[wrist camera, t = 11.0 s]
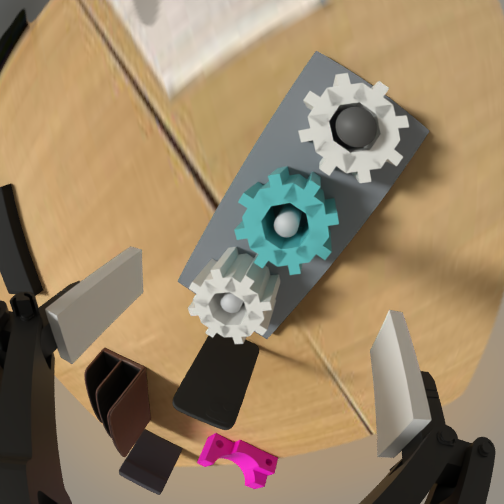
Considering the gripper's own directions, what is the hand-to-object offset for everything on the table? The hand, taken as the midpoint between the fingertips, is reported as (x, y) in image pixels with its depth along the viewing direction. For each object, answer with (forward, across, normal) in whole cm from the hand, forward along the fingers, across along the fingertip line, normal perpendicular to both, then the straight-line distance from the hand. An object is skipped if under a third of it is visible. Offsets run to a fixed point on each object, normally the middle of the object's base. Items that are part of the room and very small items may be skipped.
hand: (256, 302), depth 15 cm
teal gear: (+18, 0, 0) cm, 18 cm away
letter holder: (+20, -26, -44) cm, 54 cm away
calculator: (+19, -19, -64) cm, 69 cm away
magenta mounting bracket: (+20, +1, -53) cm, 57 cm away
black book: (+20, -56, -17) cm, 62 cm away
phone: (+20, -4, -20) cm, 29 cm away
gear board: (+20, 0, 0) cm, 20 cm away
